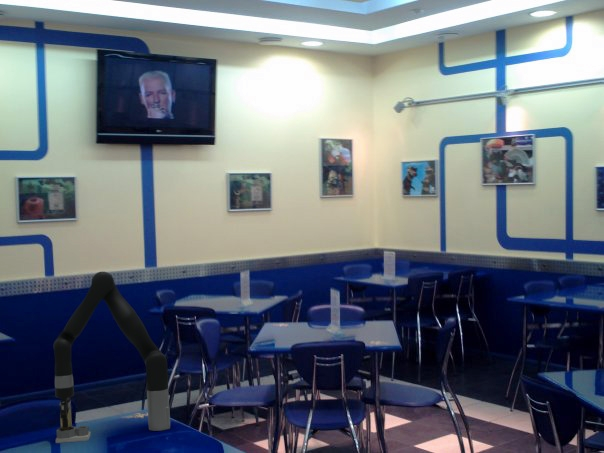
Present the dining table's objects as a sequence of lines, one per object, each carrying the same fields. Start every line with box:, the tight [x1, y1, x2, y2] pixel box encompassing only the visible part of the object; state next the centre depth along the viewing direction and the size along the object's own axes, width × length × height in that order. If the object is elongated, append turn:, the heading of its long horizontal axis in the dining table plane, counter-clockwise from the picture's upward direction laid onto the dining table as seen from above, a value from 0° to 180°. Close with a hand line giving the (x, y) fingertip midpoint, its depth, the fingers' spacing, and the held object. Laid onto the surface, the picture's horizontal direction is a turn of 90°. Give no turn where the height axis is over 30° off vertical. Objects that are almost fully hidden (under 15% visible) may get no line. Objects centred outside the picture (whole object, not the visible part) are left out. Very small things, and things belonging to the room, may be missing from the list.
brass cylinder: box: [59, 408, 73, 431], centre depth 326 cm, size 4×4×10 cm
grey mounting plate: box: [55, 425, 92, 444], centre depth 326 cm, size 13×9×4 cm
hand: (66, 425), depth 326 cm, fingers closed on brass cylinder, 4 cm apart
